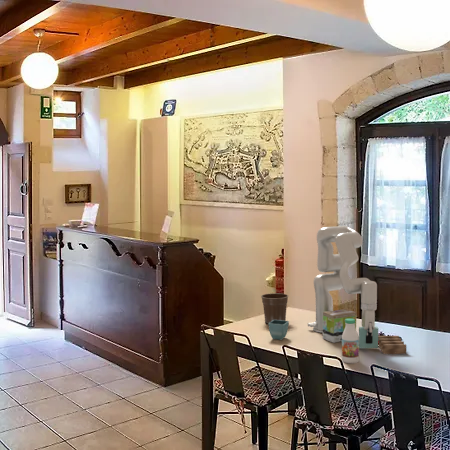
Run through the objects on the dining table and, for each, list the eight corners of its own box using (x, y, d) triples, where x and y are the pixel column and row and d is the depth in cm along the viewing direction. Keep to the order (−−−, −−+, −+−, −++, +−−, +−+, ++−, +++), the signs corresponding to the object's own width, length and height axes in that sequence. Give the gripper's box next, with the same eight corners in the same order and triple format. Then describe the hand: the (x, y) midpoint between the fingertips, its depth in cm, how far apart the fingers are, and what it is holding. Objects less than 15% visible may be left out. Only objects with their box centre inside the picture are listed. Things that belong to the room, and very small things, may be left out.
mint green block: (359, 348, 303) (359, 328, 302) (358, 346, 306) (358, 326, 305) (378, 348, 303) (378, 328, 302) (376, 346, 306) (377, 326, 305)
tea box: (334, 343, 317) (333, 315, 315) (322, 338, 326) (322, 311, 324) (356, 339, 324) (356, 311, 322) (344, 334, 332) (344, 308, 331)
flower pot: (289, 337, 330) (289, 320, 330) (283, 341, 322) (283, 324, 322) (274, 335, 334) (273, 319, 333) (268, 339, 326) (268, 323, 325)
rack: (383, 353, 297) (383, 345, 296) (376, 344, 313) (376, 336, 312) (406, 353, 296) (406, 344, 296) (398, 344, 312) (398, 335, 312)
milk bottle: (340, 359, 290) (339, 317, 288) (355, 358, 291) (355, 317, 289) (344, 364, 283) (344, 321, 281) (360, 363, 283) (360, 320, 281)
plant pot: (262, 318, 372) (262, 292, 371) (289, 319, 370) (288, 292, 369) (260, 325, 356) (260, 298, 355) (288, 326, 354) (287, 298, 353)
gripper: (358, 302, 311) (358, 337, 313) (364, 310, 294) (363, 347, 296) (373, 302, 310) (372, 337, 312) (379, 310, 294) (379, 347, 296)
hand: (368, 341), depth 304 cm, fingers closed on mint green block, 3 cm apart
